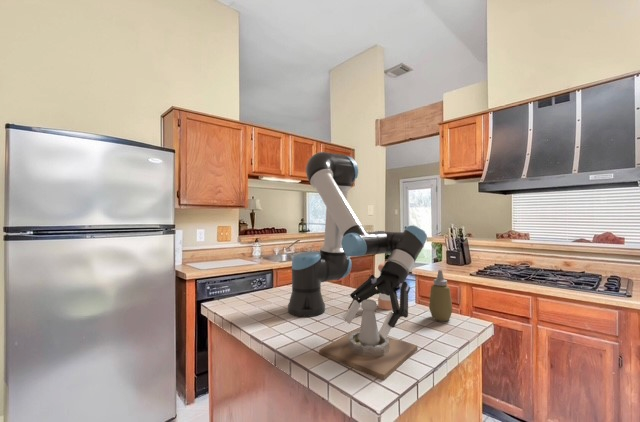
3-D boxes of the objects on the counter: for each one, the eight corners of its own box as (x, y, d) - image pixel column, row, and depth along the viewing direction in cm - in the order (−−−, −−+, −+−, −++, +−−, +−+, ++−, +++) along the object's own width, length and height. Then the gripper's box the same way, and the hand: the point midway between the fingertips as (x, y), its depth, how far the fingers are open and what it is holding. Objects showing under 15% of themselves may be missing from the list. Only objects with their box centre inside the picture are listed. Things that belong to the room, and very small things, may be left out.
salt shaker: (379, 352, 78) (379, 304, 78) (358, 350, 79) (357, 302, 79) (379, 343, 84) (379, 298, 84) (359, 341, 85) (359, 297, 85)
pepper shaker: (374, 306, 122) (374, 261, 122) (384, 303, 127) (384, 259, 127) (389, 311, 116) (388, 263, 117) (399, 307, 121) (398, 261, 122)
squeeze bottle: (442, 324, 102) (441, 273, 102) (424, 317, 109) (424, 269, 109) (457, 320, 106) (457, 271, 106) (439, 313, 113) (438, 267, 113)
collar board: (319, 354, 80) (318, 340, 80) (358, 331, 95) (358, 320, 96) (384, 380, 67) (384, 364, 67) (417, 349, 83) (417, 336, 83)
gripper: (439, 282, 81) (406, 351, 72) (373, 269, 101) (340, 322, 92) (428, 265, 78) (392, 335, 69) (362, 255, 98) (327, 308, 89)
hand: (362, 328), depth 80 cm, fingers open, 13 cm apart
